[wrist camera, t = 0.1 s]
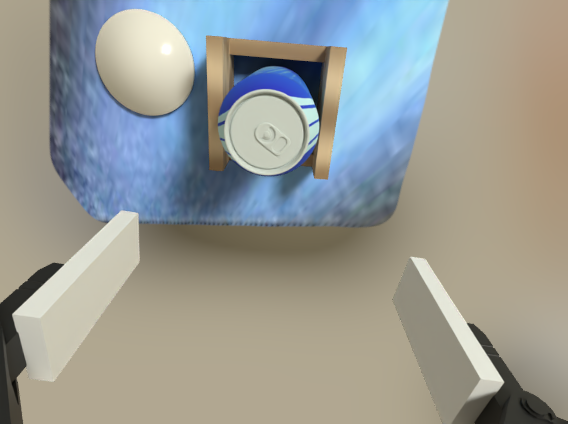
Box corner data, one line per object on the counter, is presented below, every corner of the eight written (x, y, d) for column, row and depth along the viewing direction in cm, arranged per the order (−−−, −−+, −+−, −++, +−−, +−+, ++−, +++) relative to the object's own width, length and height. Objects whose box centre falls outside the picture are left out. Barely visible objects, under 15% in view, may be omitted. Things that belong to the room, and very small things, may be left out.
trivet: (89, 5, 35) (86, 4, 35) (192, 14, 35) (191, 13, 35) (106, 110, 40) (104, 111, 39) (196, 118, 40) (195, 119, 40)
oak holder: (220, 37, 36) (206, 35, 30) (337, 47, 36) (347, 47, 30) (221, 151, 42) (209, 170, 36) (322, 160, 42) (327, 179, 36)
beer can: (249, 144, 42) (228, 194, 27) (232, 73, 38) (197, 88, 24) (315, 131, 41) (328, 176, 26) (304, 58, 37) (312, 64, 23)
